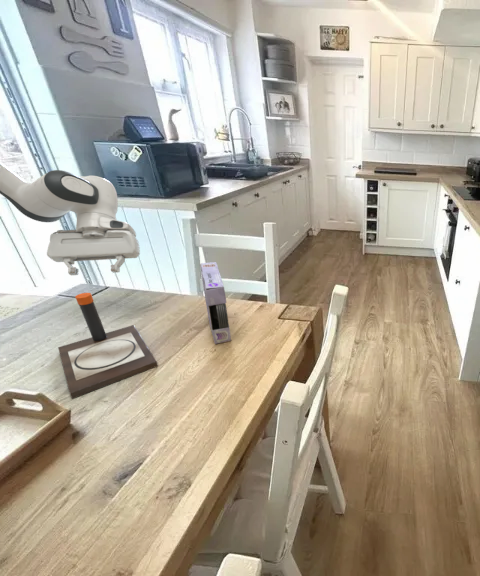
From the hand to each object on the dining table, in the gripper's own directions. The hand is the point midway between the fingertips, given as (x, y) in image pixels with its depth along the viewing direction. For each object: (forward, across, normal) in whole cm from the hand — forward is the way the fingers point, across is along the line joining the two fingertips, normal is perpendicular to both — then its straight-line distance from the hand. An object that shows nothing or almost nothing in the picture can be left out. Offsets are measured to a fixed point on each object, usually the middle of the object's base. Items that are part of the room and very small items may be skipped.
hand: (94, 273), depth 90 cm
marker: (+18, +2, +1) cm, 19 cm away
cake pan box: (+20, +30, +2) cm, 36 cm away
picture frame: (+25, +5, -4) cm, 26 cm away
